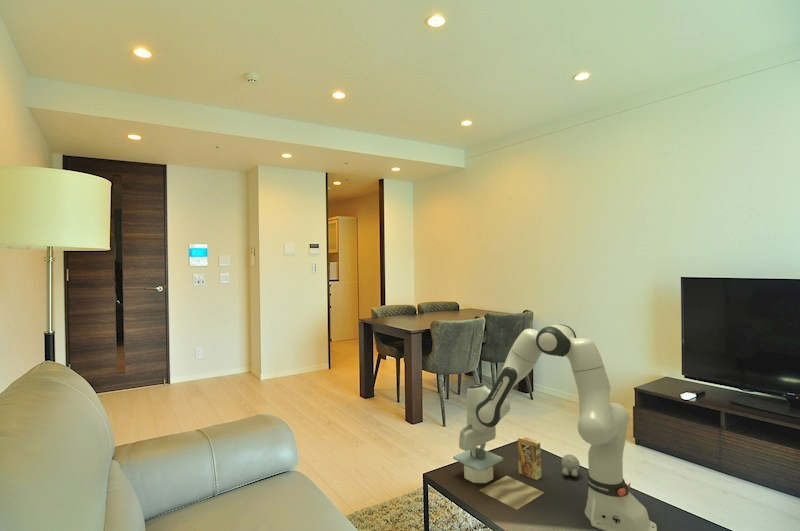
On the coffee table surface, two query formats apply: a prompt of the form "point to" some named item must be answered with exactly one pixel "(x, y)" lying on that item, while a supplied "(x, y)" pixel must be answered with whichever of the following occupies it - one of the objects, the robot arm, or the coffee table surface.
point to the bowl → (478, 474)
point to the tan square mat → (511, 492)
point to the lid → (478, 459)
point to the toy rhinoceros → (570, 465)
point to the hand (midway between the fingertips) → (478, 454)
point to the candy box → (529, 457)
